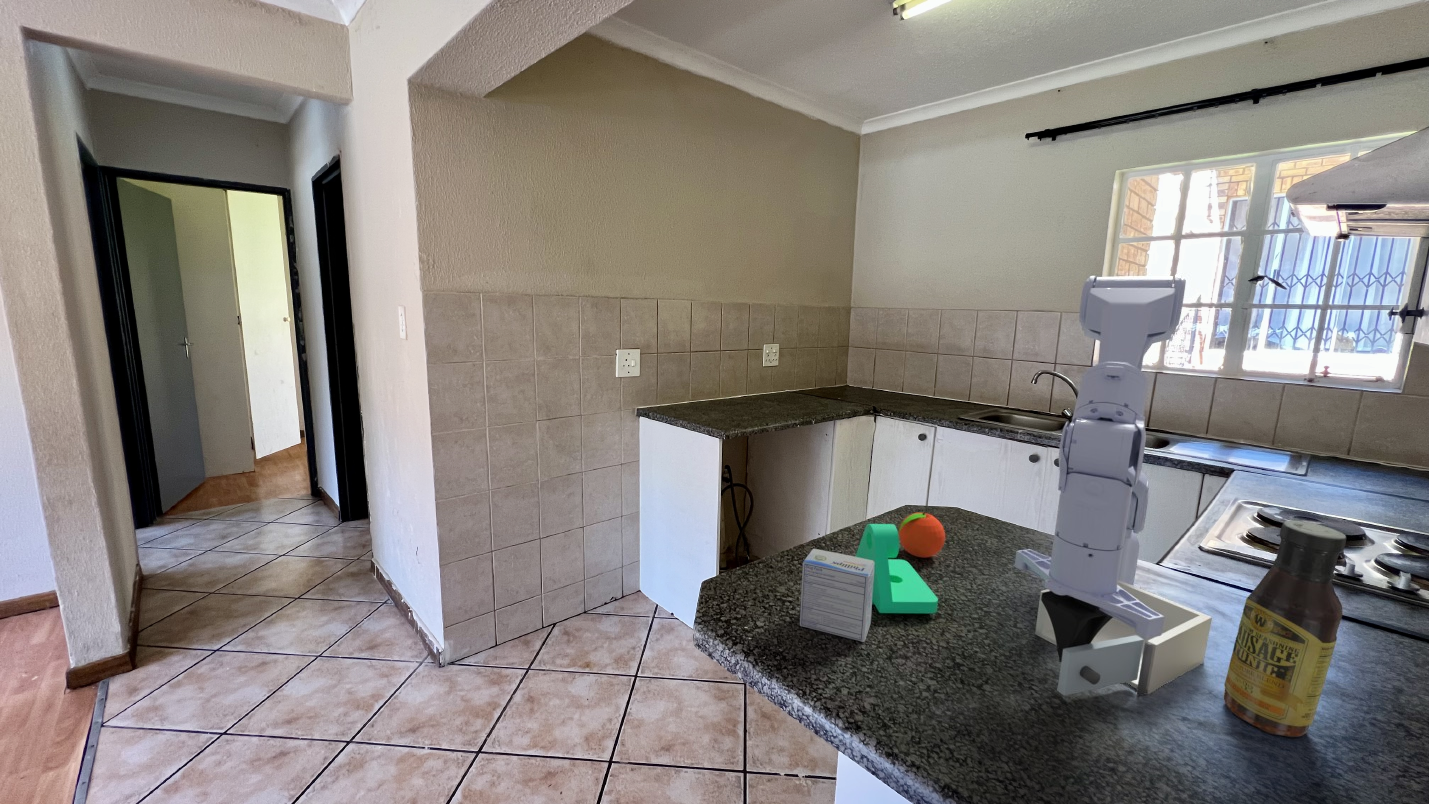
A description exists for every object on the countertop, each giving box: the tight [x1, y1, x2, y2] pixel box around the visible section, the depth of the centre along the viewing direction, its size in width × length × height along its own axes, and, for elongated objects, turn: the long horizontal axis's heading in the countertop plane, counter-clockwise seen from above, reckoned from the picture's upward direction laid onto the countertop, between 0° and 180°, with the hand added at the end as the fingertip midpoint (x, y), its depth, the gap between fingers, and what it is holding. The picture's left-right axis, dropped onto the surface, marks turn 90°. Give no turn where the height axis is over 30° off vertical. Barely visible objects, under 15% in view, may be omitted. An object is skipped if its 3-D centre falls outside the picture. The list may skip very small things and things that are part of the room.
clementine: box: [898, 512, 946, 558], centre depth 88 cm, size 8×7×7 cm
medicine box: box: [799, 548, 875, 643], centre depth 68 cm, size 8×4×9 cm, turn 65°
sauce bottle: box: [1223, 520, 1347, 738], centre depth 53 cm, size 6×6×20 cm
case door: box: [1056, 635, 1144, 697], centre depth 56 cm, size 2×10×5 cm, turn 106°
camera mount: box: [854, 523, 939, 614], centre depth 76 cm, size 12×8×10 cm, turn 2°
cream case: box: [1034, 580, 1213, 696], centre depth 65 cm, size 13×12×6 cm
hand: (1070, 662), depth 58 cm, fingers closed
